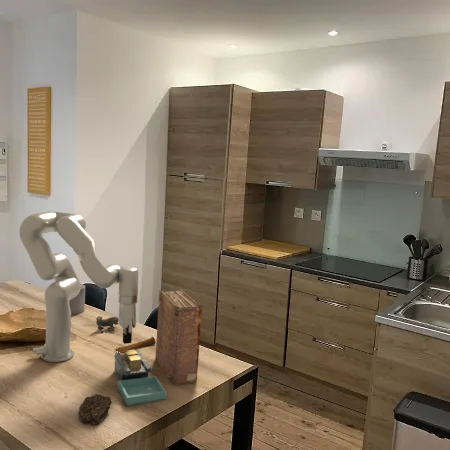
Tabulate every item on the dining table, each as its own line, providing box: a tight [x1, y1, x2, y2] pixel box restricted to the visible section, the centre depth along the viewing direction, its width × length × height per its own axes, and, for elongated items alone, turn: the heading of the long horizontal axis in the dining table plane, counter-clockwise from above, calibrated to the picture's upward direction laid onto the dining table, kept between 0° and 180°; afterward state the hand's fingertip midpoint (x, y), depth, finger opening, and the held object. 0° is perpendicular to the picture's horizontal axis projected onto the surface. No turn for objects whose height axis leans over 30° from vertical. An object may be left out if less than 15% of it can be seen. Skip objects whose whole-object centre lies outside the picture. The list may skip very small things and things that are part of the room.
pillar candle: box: [69, 283, 86, 315], centre depth 249 cm, size 10×10×15 cm
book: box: [155, 289, 203, 386], centre depth 187 cm, size 25×9×30 cm, turn 24°
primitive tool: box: [114, 336, 156, 354], centre depth 208 cm, size 19×6×4 cm, turn 135°
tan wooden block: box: [128, 355, 141, 368], centre depth 176 cm, size 4×4×3 cm
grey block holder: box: [114, 349, 153, 381], centre depth 179 cm, size 10×17×7 cm, turn 26°
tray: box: [117, 375, 167, 407], centre depth 167 cm, size 14×13×3 cm
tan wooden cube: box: [124, 349, 138, 362], centre depth 181 cm, size 4×4×3 cm
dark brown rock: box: [77, 393, 113, 426], centre depth 152 cm, size 12×10×5 cm
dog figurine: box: [95, 315, 120, 334], centre depth 226 cm, size 12×6×7 cm, turn 124°
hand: (127, 342), depth 189 cm, fingers closed
